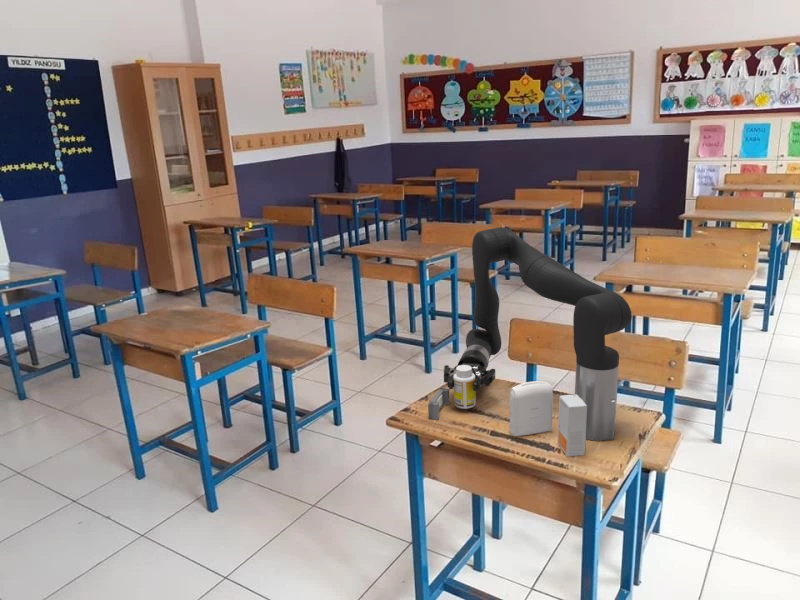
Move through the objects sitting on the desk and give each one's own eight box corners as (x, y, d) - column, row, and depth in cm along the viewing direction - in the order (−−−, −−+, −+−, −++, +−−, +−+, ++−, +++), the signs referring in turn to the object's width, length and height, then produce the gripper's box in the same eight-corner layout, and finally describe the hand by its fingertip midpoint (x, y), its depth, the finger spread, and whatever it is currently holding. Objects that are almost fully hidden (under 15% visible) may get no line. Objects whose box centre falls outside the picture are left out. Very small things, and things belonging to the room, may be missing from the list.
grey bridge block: (449, 403, 165) (449, 389, 163) (437, 419, 156) (437, 404, 154) (440, 402, 165) (440, 388, 164) (428, 418, 156) (428, 403, 155)
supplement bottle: (476, 400, 163) (476, 363, 160) (475, 410, 158) (474, 372, 155) (455, 399, 164) (454, 363, 161) (453, 409, 159) (451, 371, 156)
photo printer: (513, 438, 145) (514, 389, 142) (506, 430, 149) (507, 381, 146) (554, 432, 147) (556, 383, 144) (546, 424, 152) (548, 376, 148)
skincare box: (556, 443, 142) (558, 395, 139) (575, 442, 143) (577, 393, 139) (566, 457, 136) (568, 406, 133) (585, 455, 137) (588, 405, 134)
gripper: (448, 347, 173) (434, 370, 158) (500, 351, 169) (491, 375, 154) (448, 372, 175) (435, 398, 160) (500, 376, 171) (491, 403, 156)
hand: (462, 386), depth 157 cm, fingers closed on supplement bottle, 5 cm apart
